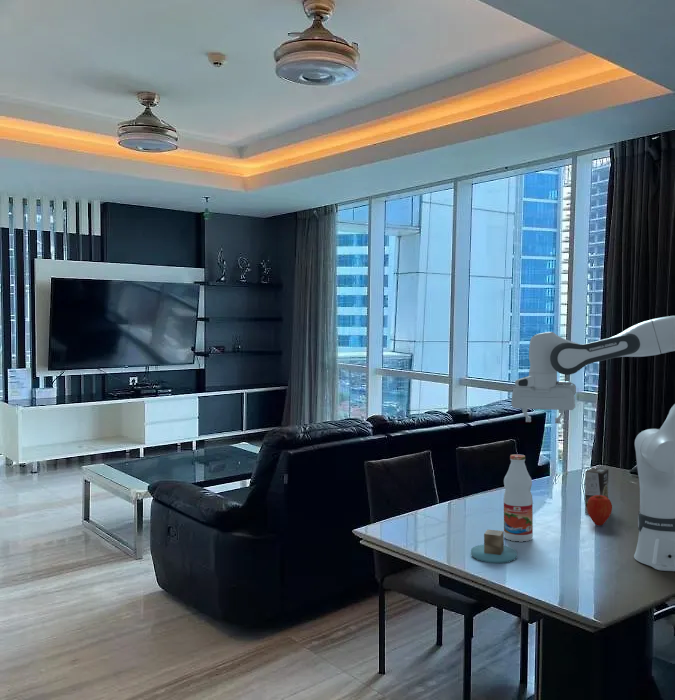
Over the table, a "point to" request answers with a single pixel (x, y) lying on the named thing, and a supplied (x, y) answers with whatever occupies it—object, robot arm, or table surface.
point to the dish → (494, 555)
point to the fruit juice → (518, 501)
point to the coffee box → (595, 484)
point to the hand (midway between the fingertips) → (543, 422)
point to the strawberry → (599, 509)
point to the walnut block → (494, 542)
